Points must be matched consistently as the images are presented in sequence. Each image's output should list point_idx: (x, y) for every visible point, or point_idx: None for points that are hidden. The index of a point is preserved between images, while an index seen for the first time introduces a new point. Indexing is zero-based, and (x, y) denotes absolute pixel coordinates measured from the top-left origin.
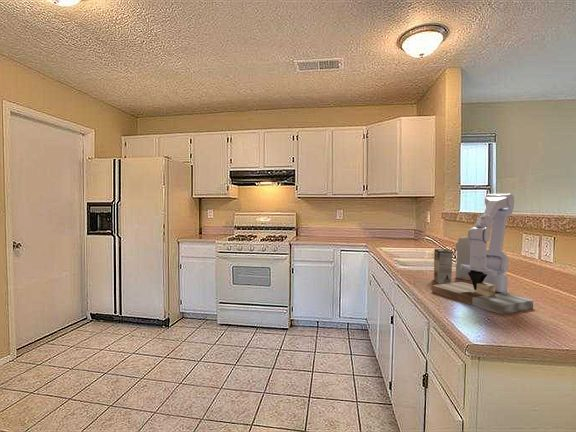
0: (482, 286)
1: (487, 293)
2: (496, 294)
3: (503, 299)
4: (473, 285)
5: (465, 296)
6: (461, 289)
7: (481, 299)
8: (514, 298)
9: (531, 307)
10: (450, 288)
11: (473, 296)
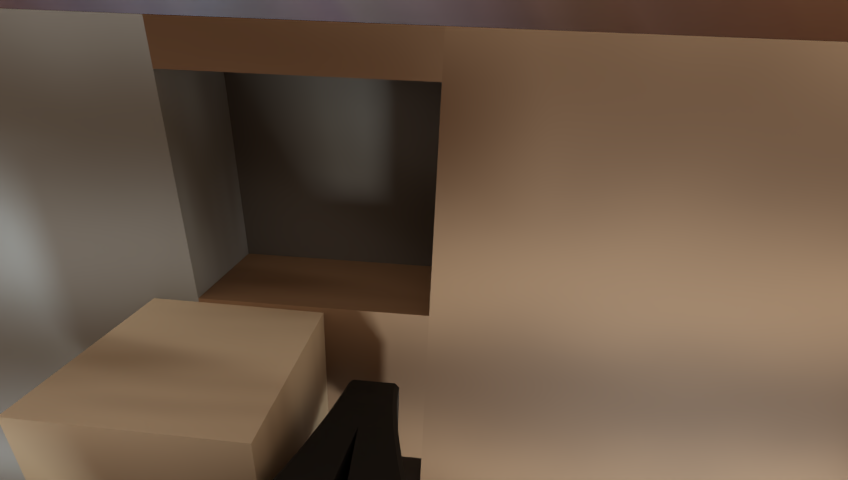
0: (134, 401)
1: (124, 327)
2: None
3: (4, 345)
4: (386, 429)
5: (298, 21)
6: (574, 313)
7: (4, 42)
8: None
9: None
10: (735, 200)
11: (375, 280)
